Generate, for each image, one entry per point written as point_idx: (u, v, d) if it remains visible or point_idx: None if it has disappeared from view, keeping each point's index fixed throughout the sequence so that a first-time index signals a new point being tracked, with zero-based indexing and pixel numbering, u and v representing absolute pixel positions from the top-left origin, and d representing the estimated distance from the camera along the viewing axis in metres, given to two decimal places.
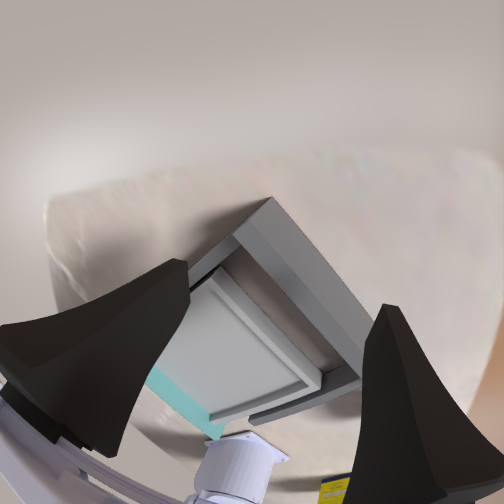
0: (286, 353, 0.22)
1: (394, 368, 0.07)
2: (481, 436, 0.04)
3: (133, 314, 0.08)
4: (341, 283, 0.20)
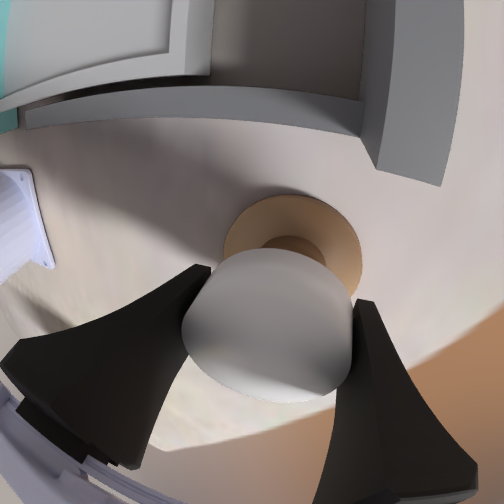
0: None
1: (362, 364, 0.07)
2: (450, 439, 0.04)
3: (160, 324, 0.07)
4: None
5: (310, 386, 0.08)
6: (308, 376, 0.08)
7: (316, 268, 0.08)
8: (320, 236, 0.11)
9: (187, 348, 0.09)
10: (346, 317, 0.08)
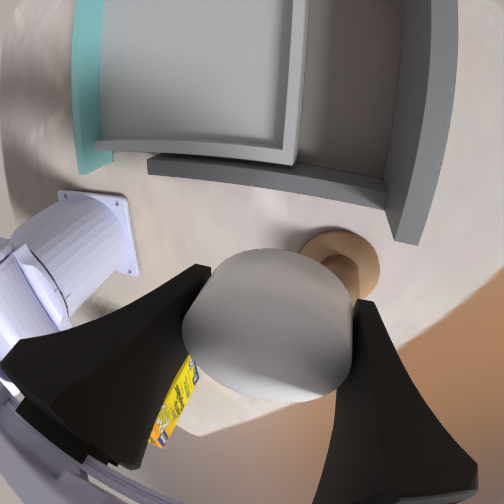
0: (300, 79, 0.13)
1: (362, 363, 0.07)
2: (450, 438, 0.04)
3: (160, 324, 0.07)
4: None
5: (310, 386, 0.08)
6: (308, 376, 0.08)
7: (316, 268, 0.08)
8: (356, 255, 0.19)
9: (188, 348, 0.09)
10: (346, 317, 0.08)
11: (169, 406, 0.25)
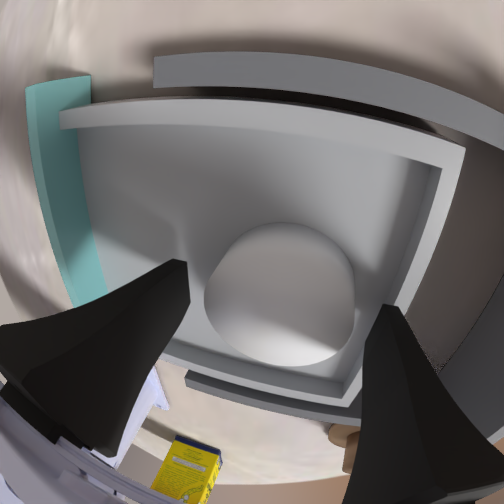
0: None
1: (394, 368, 0.07)
2: (481, 436, 0.04)
3: (133, 314, 0.08)
4: None
5: (318, 347, 0.10)
6: (316, 336, 0.09)
7: (322, 238, 0.09)
8: None
9: (207, 314, 0.10)
10: (349, 280, 0.09)
11: (203, 500, 0.23)
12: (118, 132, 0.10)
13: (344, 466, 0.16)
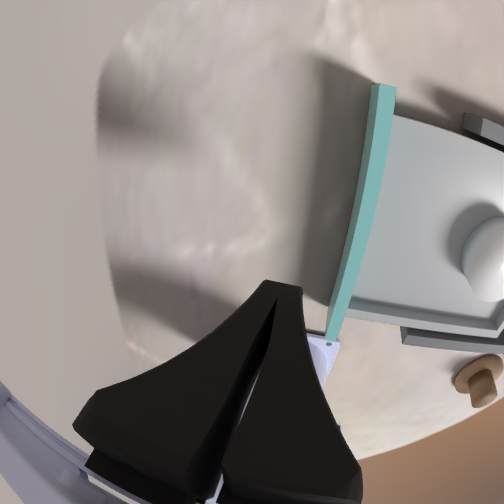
0: None
1: None
2: (335, 433, 0.04)
3: (252, 351, 0.07)
4: None
5: None
6: None
7: None
8: (494, 368, 0.19)
9: (470, 271, 0.14)
10: None
11: None
12: (425, 146, 0.13)
13: (475, 398, 0.19)
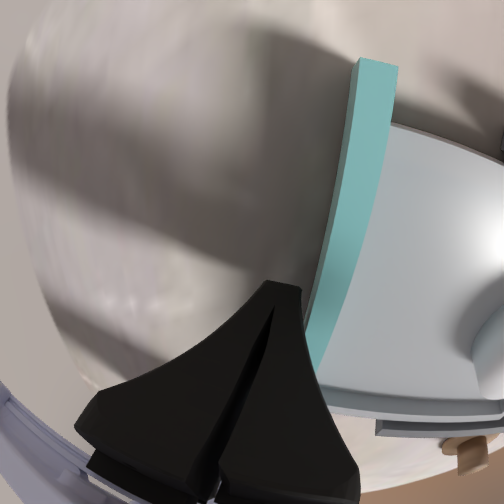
0: None
1: None
2: (333, 433, 0.04)
3: (253, 351, 0.07)
4: None
5: None
6: None
7: None
8: (489, 434, 0.14)
9: (483, 374, 0.08)
10: None
11: None
12: (445, 183, 0.07)
13: (462, 470, 0.13)
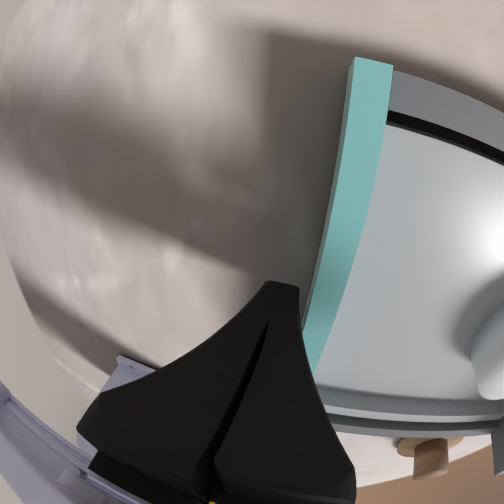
0: None
1: None
2: (328, 432, 0.04)
3: (256, 351, 0.07)
4: None
5: None
6: None
7: None
8: None
9: (481, 374, 0.08)
10: None
11: None
12: (443, 182, 0.07)
13: (417, 474, 0.14)
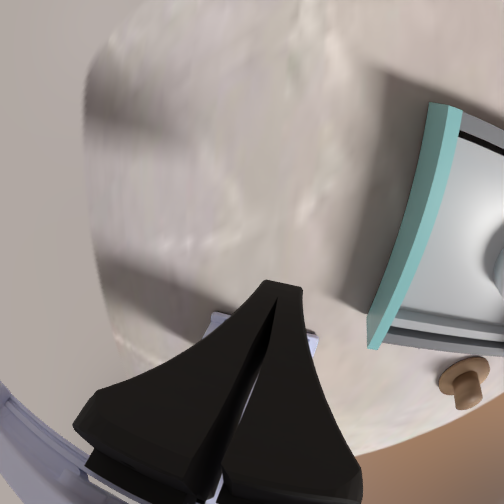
0: None
1: None
2: (335, 433, 0.04)
3: (252, 350, 0.07)
4: None
5: None
6: None
7: None
8: (479, 370, 0.20)
9: (503, 284, 0.13)
10: None
11: None
12: (474, 165, 0.12)
13: (459, 400, 0.19)
